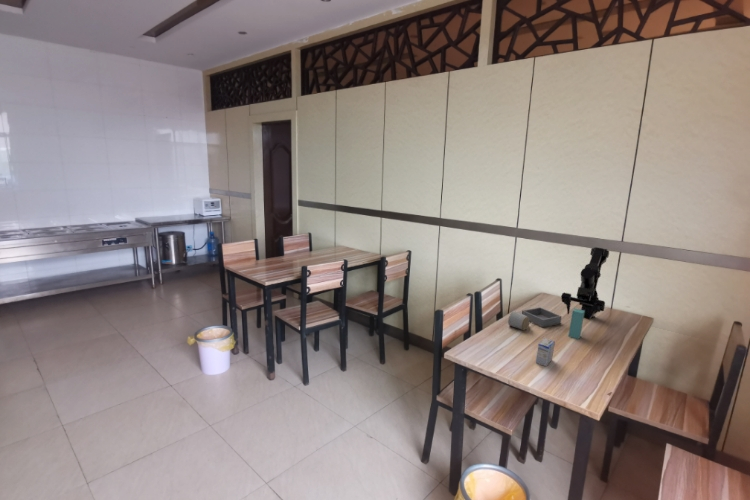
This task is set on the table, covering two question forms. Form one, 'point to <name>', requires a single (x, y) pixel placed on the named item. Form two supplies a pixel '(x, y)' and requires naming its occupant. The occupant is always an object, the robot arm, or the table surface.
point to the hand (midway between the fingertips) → (578, 316)
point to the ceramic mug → (518, 320)
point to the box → (542, 317)
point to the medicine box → (545, 352)
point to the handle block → (576, 323)
